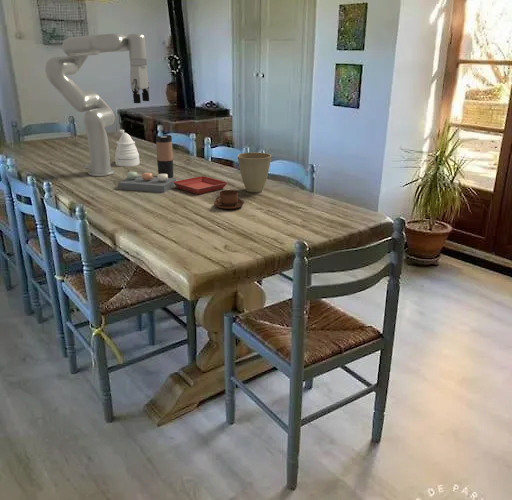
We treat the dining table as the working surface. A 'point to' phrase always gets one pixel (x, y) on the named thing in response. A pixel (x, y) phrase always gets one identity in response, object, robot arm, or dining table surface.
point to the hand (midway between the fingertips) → (141, 102)
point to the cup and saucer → (228, 200)
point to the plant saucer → (200, 184)
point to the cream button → (162, 177)
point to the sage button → (131, 175)
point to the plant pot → (254, 170)
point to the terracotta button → (147, 176)
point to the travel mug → (164, 155)
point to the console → (147, 184)
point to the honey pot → (126, 151)
